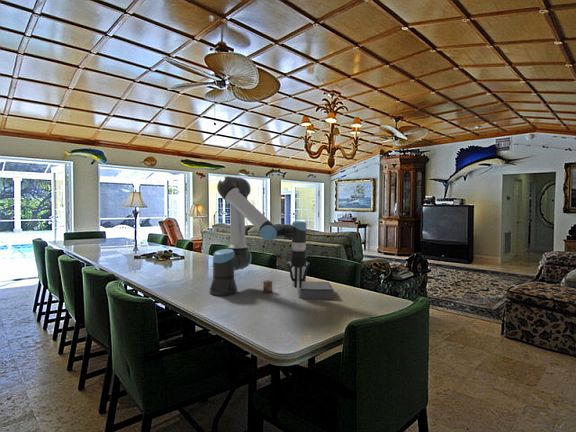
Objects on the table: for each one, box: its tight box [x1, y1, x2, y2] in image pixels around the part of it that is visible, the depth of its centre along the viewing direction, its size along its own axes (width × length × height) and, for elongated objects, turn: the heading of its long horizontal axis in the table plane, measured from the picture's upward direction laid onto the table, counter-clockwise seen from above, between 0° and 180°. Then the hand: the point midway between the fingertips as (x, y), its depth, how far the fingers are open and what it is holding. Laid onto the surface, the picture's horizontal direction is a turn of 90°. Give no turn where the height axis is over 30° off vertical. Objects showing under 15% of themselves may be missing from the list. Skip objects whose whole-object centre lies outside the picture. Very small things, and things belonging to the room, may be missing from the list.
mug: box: [289, 266, 307, 287], centre depth 212 cm, size 12×8×11 cm
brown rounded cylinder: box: [262, 279, 273, 294], centre depth 193 cm, size 5×5×6 cm
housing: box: [300, 281, 334, 300], centre depth 189 cm, size 17×18×5 cm
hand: (297, 293), depth 184 cm, fingers closed
